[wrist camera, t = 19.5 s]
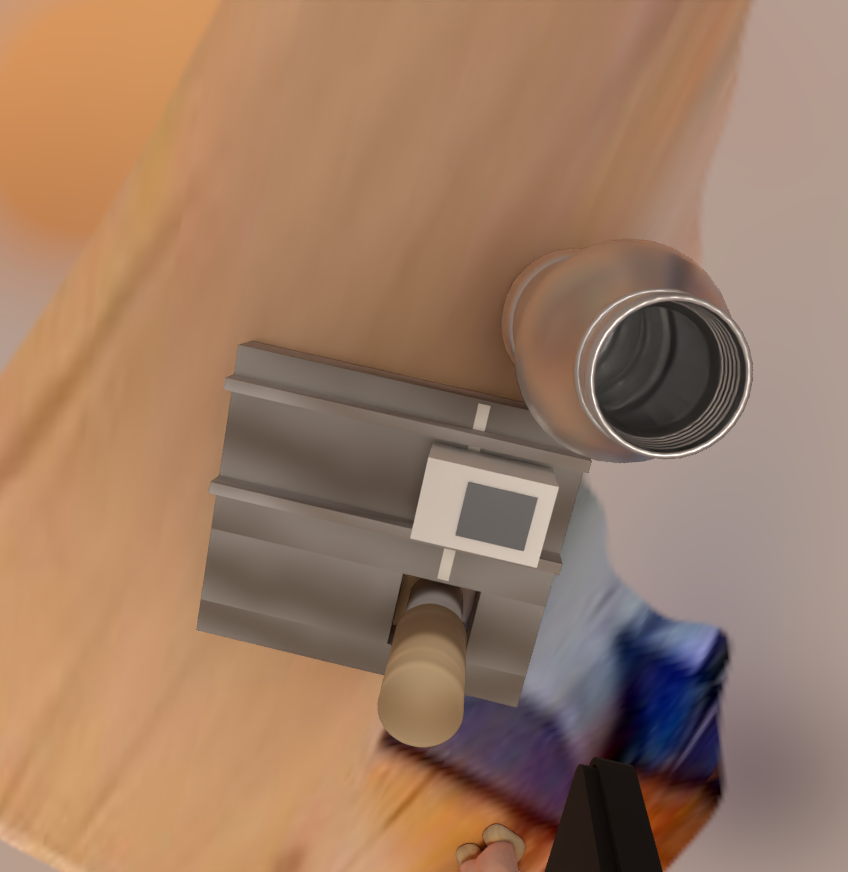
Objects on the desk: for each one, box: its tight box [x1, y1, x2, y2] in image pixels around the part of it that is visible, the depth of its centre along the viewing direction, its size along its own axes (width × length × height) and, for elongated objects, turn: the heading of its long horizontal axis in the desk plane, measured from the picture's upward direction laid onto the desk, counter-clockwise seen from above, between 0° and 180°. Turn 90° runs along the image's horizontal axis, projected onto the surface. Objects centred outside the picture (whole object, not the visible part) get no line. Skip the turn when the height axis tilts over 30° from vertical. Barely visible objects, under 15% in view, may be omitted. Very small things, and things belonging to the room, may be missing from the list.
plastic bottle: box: [501, 239, 753, 463], centre depth 25 cm, size 6×7×20 cm
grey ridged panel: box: [196, 341, 592, 707], centre depth 36 cm, size 16×18×3 cm
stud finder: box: [410, 442, 559, 568], centre depth 33 cm, size 4×6×3 cm, turn 78°
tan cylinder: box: [378, 578, 467, 747], centre depth 34 cm, size 4×4×10 cm
